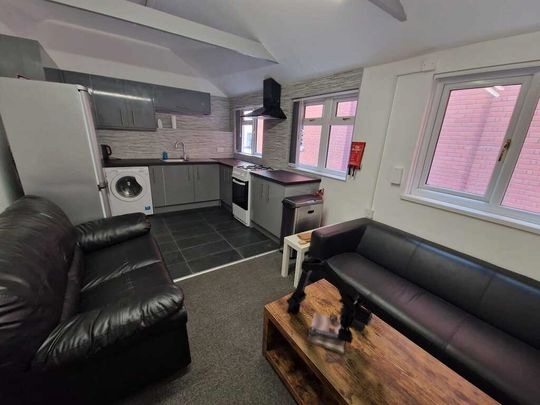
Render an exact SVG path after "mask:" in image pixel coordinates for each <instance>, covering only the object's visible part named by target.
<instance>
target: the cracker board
mask: <svg viewBox="0 0 540 405" xmlns="http://www.w3.org/2000/svg"><path fill="white" fill-rule="evenodd" d="M338 317H339V316H338V315H337V314H334V313H330V314H329V316H327V315H323V314H320V313H317V312H314V313H313V317H312V320H311V325H310V327H314V328H315V329H319V330H323V331H327V332H331V331H329V326H330V325H331V326H334V327H335V332H331V333H335V334H338V331H339V329H340V328H341V324H340V319H339V320H338ZM307 341H308V342H311V343H313V344H316V345H318V346H321V347H323V348H327V349H328V350H331V351H334V352H337V353H339V354H342V355H344V351H345V341H344V342H342V341H338V340H334V339H330V338H326V337H322V336H318V335H310V334H309V333H308V337H307Z"/></svg>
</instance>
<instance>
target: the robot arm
mask: <svg viewBox="0 0 540 405" xmlns="http://www.w3.org/2000/svg"><path fill="white" fill-rule="evenodd" d="M300 270H301V273H300V277H299V279H298V281H297V282H298V283H297V285H296V289H295V290H294V291H293V293H292V294H291V295H290V296H289V297H288V298H287V299H286V303H287V304H288V307H287V311H286V312H287V313H290V314H292V315H296V316H297V315H298V314H299V312H300V311H301V303H302V302H303V301H305V300H306V297H307V295H308V294H307V293H306V292H305V290H306V287H307V285H308V282H309V279H310V275H311V273H312V272H313V271H320V272H321V273H322V274H323V275H324V276H325V277H326V278H327V279H328V280H329V282H331V284H332V285H334V286H333V287H335V288H336V289H337V291H338V293H339V296H340V297H341V298H339V299H338V302H339V303H341V304H342V307H340V311H339V321H340V324H341V326H342V328H343V329H339V331H338V339H339V340H342V341H344V343H347V344H351V343H353V332H352V330H353V328H354V329H356V330H357V331H358V332H360V333H362V332H363V331H364V330H365V329H366V327H369V326H370V325H371V323H372V320H373V312H372V311H371V310H368V309H367V308H365V307H363V301H362V298H361V297H360V292H359V291H358V289H356V288H355V287H354V286H353V285H351V284H349V283H347V282H345V281H344V279H342V277H341V276H340V275H339V274H338V273H337V272H336V271H335V270H334V269H333V268H332V267H331V266H330V265H329V262H328V261H327V260H324V259H323V260H322V259H320V258H318V257H314V256H309V257H307V258H306V259H304V260H302V262H301V267H300ZM356 301H357V302H356ZM355 302H356V303H355ZM354 303H355V304H354ZM354 312H355V313H354ZM344 327H345V328H344ZM351 329H352V330H351Z"/></svg>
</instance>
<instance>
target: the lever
mask: <svg viewBox="0 0 540 405" xmlns="http://www.w3.org/2000/svg"><path fill="white" fill-rule="evenodd" d="M344 328H345V327H344ZM340 329H343V328H342V326H341V328H340ZM309 334H310V335H318V336H322V337H326V338H330V339H334V340H338V341H342V340H339V339H338V334H335V333H331V332H327V331H323V330H319V329H315V328H314V327H311V326H309V329H308V335H309ZM342 342H344V343H345V341H342Z"/></svg>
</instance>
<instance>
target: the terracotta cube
mask: <svg viewBox="0 0 540 405" xmlns="http://www.w3.org/2000/svg"><path fill="white" fill-rule="evenodd" d="M329 331H331V332H335V327H334V326H331V325H330V326H329Z"/></svg>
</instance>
